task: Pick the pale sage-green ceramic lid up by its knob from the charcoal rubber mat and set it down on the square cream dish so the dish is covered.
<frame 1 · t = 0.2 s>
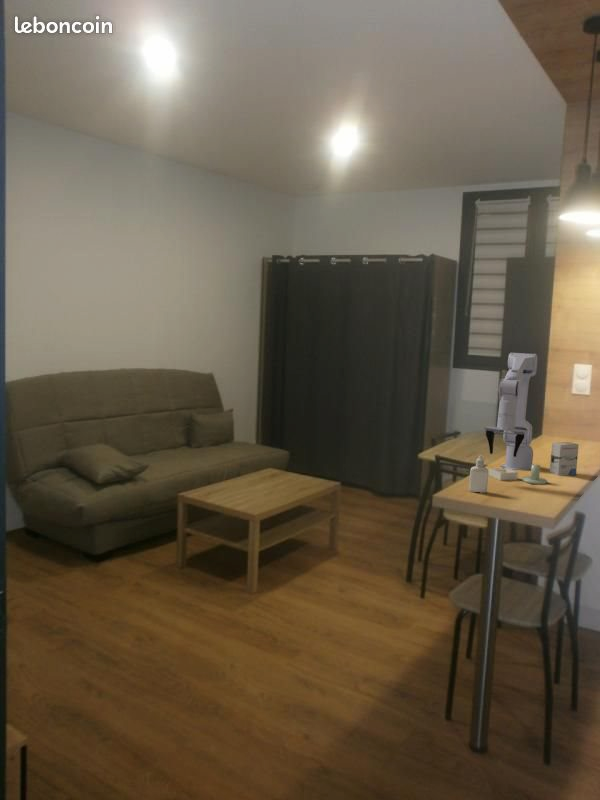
hand: (502, 455, 223), 10 cm above the table, tool pointing down, fingers open, 7 cm apart
eye dropper bottle: (477, 492, 215), on the table
ink box: (562, 475, 244), on the table
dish: (502, 478, 234), on the table
mat: (534, 482, 230), on the table
lid: (534, 481, 230), resting on mat
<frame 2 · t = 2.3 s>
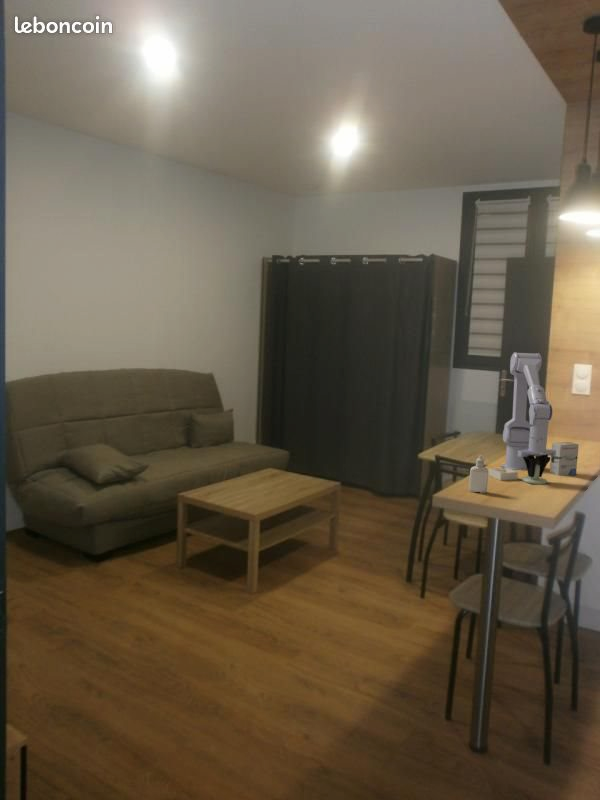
hand: (534, 476, 230), 2 cm above the table, tool pointing down, fingers closed on lid, 3 cm apart
lid: (534, 481, 230), resting on mat, touching gripper
everything else where it was.
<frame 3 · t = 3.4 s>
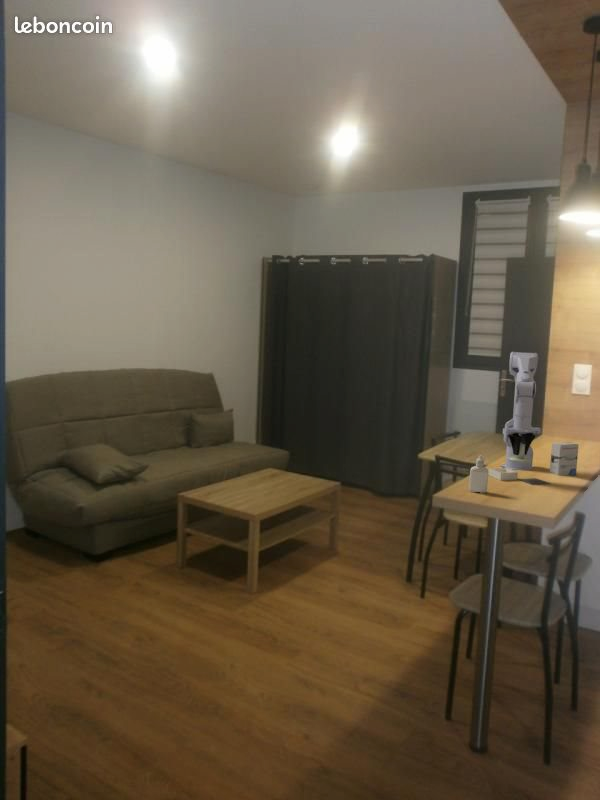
hand: (519, 454, 231), 9 cm above the table, tool pointing down, fingers closed on lid, 3 cm apart
lid: (519, 460, 231), point 7 cm above the table, touching gripper
everything else where it was.
when the fingers open (6 cm above the table, at t = 4.7 s): lid stays where it is, resting on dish.
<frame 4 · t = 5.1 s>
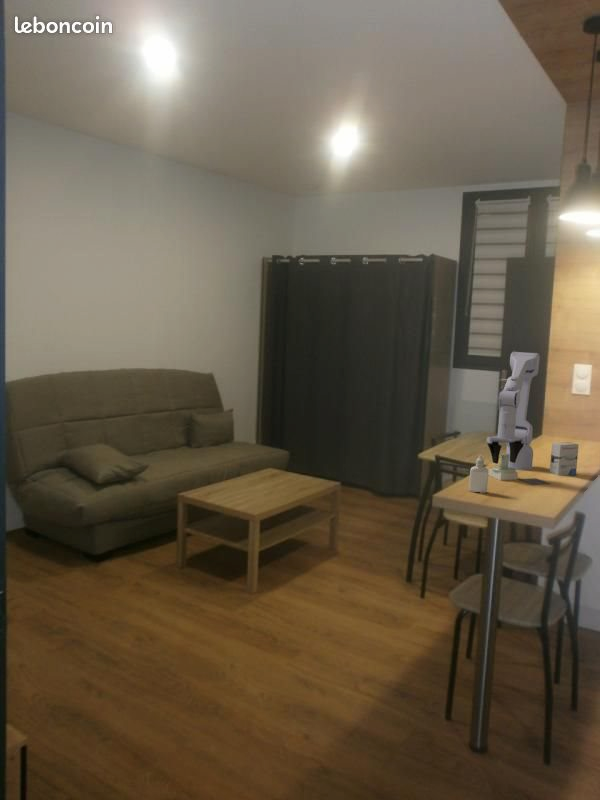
hand: (503, 462, 233), 6 cm above the table, tool pointing down, fingers open, 7 cm apart
lid: (503, 470, 233), point 3 cm above the table, touching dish
everything else where it was.
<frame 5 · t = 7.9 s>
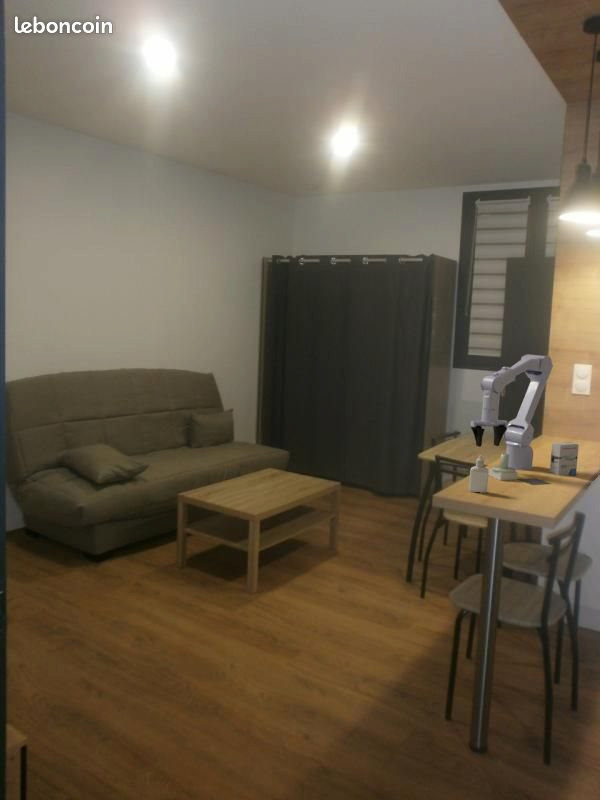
hand: (487, 445, 241), 10 cm above the table, tool pointing down, fingers open, 7 cm apart
nothing on the table moved.
at the end: lid 0.2 cm off-centre on the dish, point 3.0 cm above the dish's base; lid tilted 0°; the gripper is holding nothing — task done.
